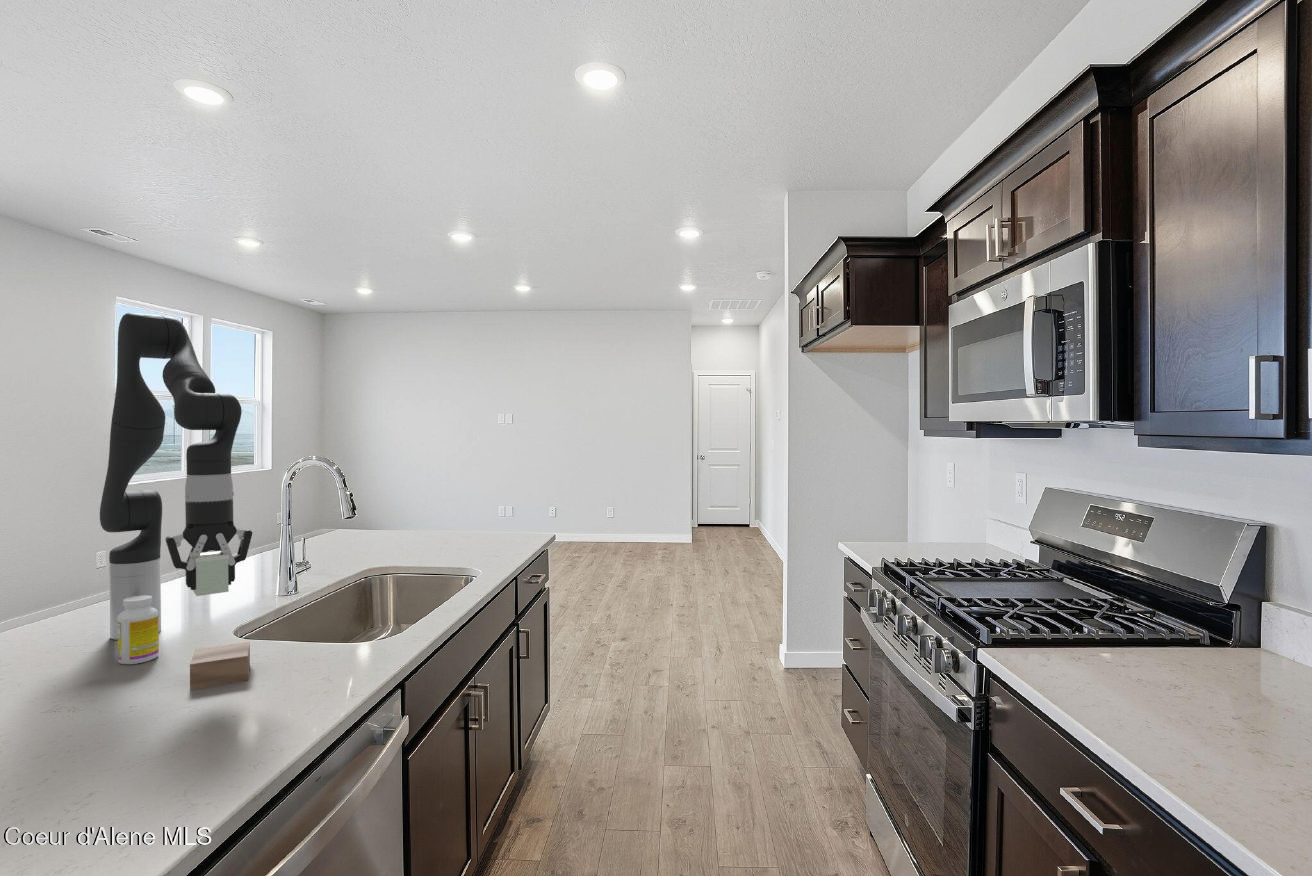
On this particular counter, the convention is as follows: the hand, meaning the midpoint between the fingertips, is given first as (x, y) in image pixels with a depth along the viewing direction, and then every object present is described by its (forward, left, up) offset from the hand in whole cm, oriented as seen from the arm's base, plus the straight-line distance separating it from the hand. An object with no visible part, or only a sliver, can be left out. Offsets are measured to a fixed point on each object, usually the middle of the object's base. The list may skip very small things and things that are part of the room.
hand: (210, 586), depth 124 cm
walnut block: (0, +2, -18) cm, 18 cm away
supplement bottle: (-22, -9, -18) cm, 30 cm away
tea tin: (0, 0, -1) cm, 1 cm away
